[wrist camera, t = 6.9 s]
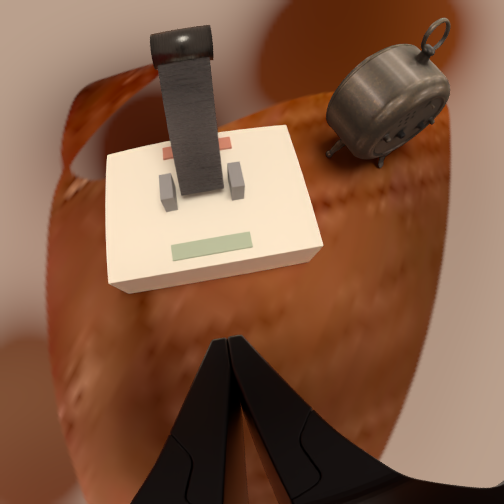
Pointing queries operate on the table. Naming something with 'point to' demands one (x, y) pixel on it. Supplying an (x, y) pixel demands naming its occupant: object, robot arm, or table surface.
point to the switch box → (207, 214)
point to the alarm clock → (388, 99)
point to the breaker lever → (189, 105)
